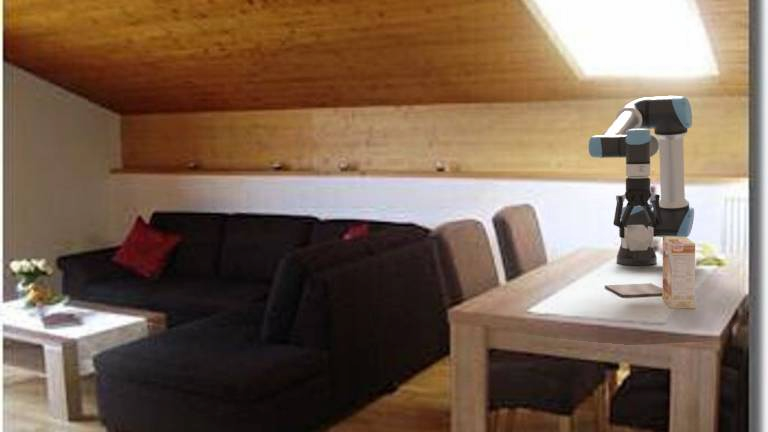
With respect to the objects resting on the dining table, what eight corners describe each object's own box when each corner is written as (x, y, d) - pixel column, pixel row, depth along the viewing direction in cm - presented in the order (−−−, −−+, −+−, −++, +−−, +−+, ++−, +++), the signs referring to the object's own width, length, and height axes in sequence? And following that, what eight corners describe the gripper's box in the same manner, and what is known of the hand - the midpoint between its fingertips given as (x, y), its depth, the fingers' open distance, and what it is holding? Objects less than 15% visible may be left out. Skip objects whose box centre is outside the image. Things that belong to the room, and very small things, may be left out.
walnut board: (651, 285, 272) (651, 283, 272) (671, 295, 256) (671, 292, 256) (604, 287, 270) (604, 285, 270) (622, 297, 255) (622, 294, 254)
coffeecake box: (661, 297, 253) (662, 236, 251) (685, 298, 251) (686, 236, 249) (669, 308, 238) (670, 243, 236) (695, 308, 237) (696, 242, 235)
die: (648, 254, 255) (660, 228, 258) (622, 241, 256) (635, 214, 259) (638, 260, 264) (651, 234, 266) (614, 247, 264) (626, 221, 267)
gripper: (610, 178, 255) (610, 250, 257) (674, 176, 256) (673, 247, 259) (602, 177, 262) (602, 246, 264) (664, 175, 264) (663, 244, 266)
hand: (637, 247), depth 262 cm, fingers closed on die, 8 cm apart
